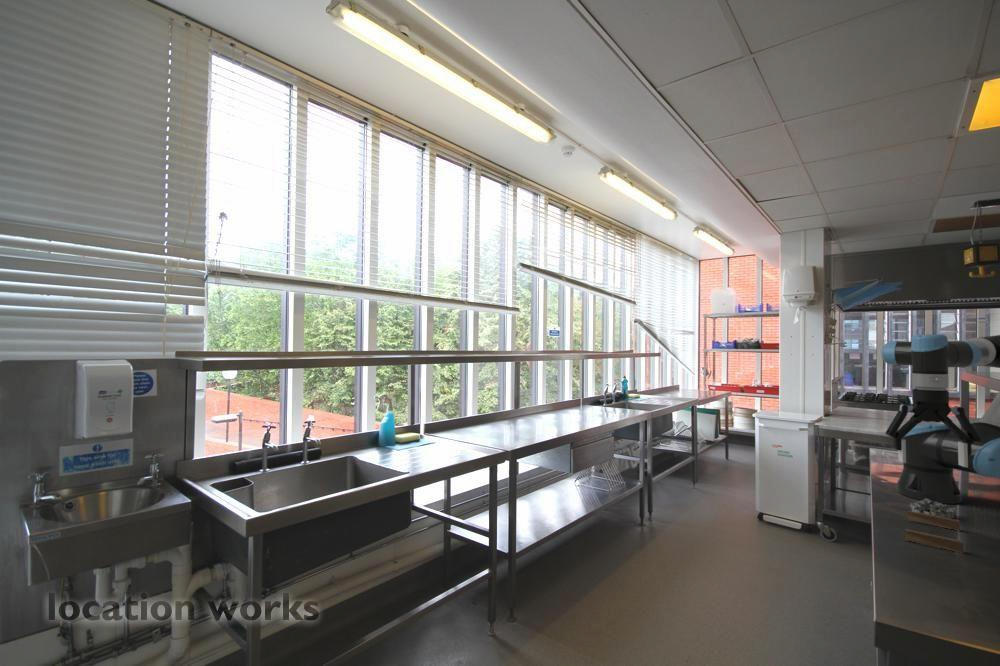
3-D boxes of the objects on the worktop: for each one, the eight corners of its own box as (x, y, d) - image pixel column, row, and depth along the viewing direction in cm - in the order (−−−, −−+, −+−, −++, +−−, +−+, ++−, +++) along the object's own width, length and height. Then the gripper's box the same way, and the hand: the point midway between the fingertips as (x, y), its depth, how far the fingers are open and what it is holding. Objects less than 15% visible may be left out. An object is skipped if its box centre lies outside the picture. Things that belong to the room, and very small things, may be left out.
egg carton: (940, 525, 122) (940, 510, 122) (906, 515, 129) (906, 501, 129) (959, 519, 127) (959, 504, 127) (925, 509, 134) (925, 495, 134)
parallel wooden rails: (908, 519, 125) (907, 510, 125) (959, 530, 118) (959, 520, 119) (905, 540, 112) (905, 530, 112) (963, 554, 105) (963, 543, 105)
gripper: (882, 388, 130) (883, 463, 129) (997, 391, 121) (999, 471, 120) (871, 386, 137) (872, 457, 136) (979, 388, 128) (981, 464, 127)
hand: (932, 464), depth 128 cm, fingers open, 13 cm apart
